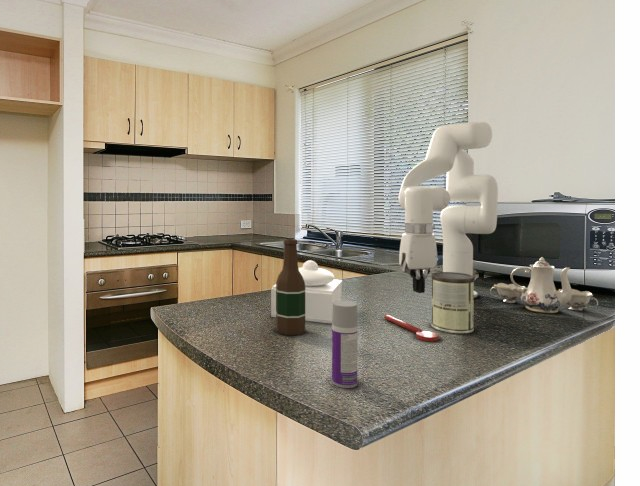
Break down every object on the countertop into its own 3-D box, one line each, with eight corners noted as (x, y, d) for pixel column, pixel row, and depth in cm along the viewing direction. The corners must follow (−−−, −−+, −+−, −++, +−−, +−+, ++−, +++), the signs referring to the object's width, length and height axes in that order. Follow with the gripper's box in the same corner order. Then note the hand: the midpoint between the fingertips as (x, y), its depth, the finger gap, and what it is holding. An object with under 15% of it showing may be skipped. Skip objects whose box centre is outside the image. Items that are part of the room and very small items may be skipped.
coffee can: (425, 321, 122) (425, 271, 121) (463, 322, 121) (464, 272, 121) (439, 333, 111) (439, 278, 111) (481, 334, 111) (481, 279, 110)
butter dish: (271, 316, 127) (271, 262, 126) (288, 302, 143) (288, 254, 143) (331, 323, 120) (332, 266, 120) (342, 308, 137) (342, 257, 136)
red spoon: (378, 319, 124) (378, 314, 124) (393, 318, 125) (393, 313, 125) (425, 342, 105) (425, 336, 105) (442, 340, 106) (443, 334, 106)
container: (328, 378, 84) (328, 300, 84) (352, 377, 85) (352, 300, 84) (336, 388, 80) (336, 307, 79) (361, 387, 80) (361, 306, 80)
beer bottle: (308, 328, 116) (308, 238, 115) (302, 337, 108) (302, 241, 108) (279, 325, 118) (279, 237, 118) (272, 334, 111) (272, 240, 111)
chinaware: (591, 312, 137) (591, 259, 138) (605, 319, 123) (605, 260, 124) (489, 302, 150) (489, 253, 152) (491, 308, 136) (491, 254, 137)
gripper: (431, 227, 133) (431, 287, 133) (388, 229, 129) (388, 291, 129) (449, 229, 125) (449, 292, 126) (404, 231, 121) (404, 296, 122)
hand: (418, 291), depth 128 cm, fingers closed
